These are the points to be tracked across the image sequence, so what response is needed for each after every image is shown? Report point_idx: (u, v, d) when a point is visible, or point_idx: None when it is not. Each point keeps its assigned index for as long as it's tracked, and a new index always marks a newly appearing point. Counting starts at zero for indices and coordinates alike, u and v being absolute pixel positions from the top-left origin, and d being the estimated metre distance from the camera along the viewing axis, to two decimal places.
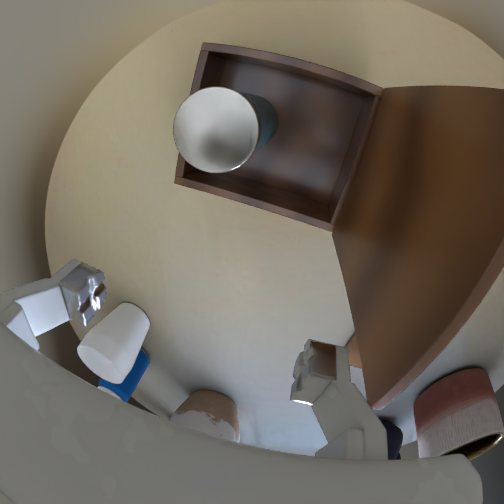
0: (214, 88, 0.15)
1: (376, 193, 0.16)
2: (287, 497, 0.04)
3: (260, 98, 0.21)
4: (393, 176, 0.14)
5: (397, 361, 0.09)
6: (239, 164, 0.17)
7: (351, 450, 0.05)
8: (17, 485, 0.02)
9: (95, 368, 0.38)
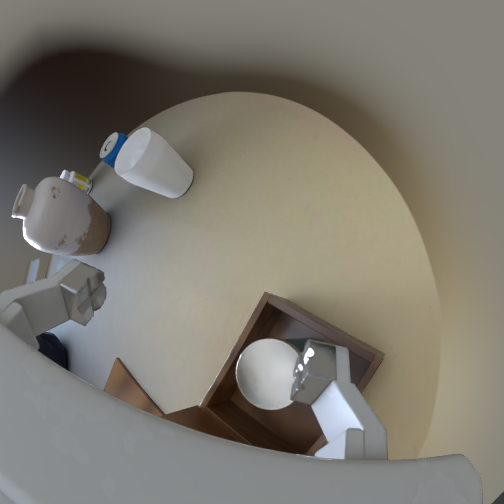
0: None
1: None
2: (287, 497, 0.04)
3: None
4: None
5: None
6: (238, 383, 0.21)
7: (351, 450, 0.05)
8: (17, 485, 0.02)
9: (132, 139, 0.41)
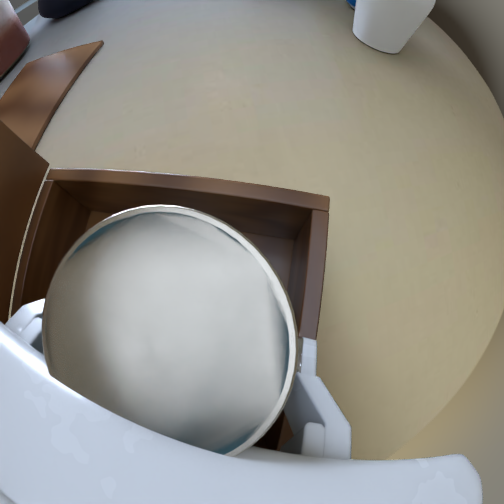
0: None
1: None
2: (287, 497, 0.04)
3: None
4: None
5: None
6: (79, 240, 0.05)
7: (309, 446, 0.06)
8: (17, 485, 0.02)
9: None
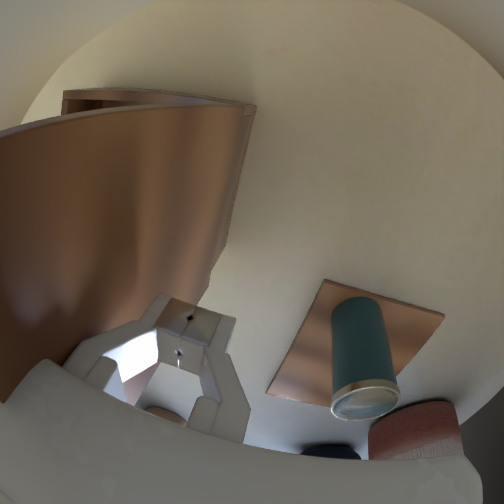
0: (378, 387, 0.17)
1: None
2: (287, 497, 0.04)
3: (380, 322, 0.24)
4: None
5: None
6: (375, 417, 0.19)
7: (197, 420, 0.06)
8: (17, 485, 0.02)
9: None
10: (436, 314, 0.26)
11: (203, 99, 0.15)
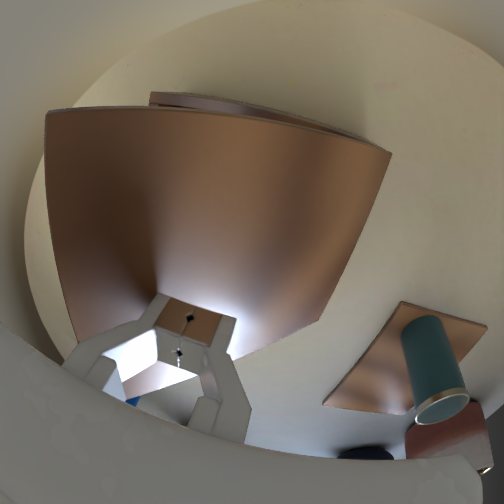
0: (458, 394, 0.17)
1: None
2: (287, 497, 0.04)
3: (447, 338, 0.23)
4: None
5: None
6: (445, 419, 0.19)
7: (198, 420, 0.06)
8: (17, 485, 0.02)
9: None
10: (481, 326, 0.25)
11: (348, 136, 0.15)
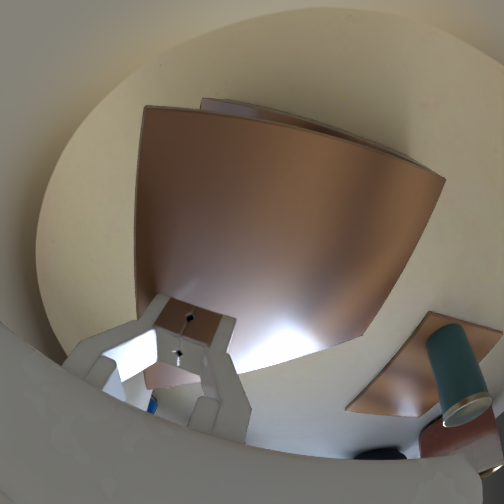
0: (483, 398, 0.16)
1: None
2: (287, 497, 0.04)
3: (470, 345, 0.23)
4: None
5: None
6: (468, 421, 0.18)
7: (198, 420, 0.06)
8: (17, 485, 0.02)
9: None
10: (498, 332, 0.25)
11: (407, 160, 0.14)
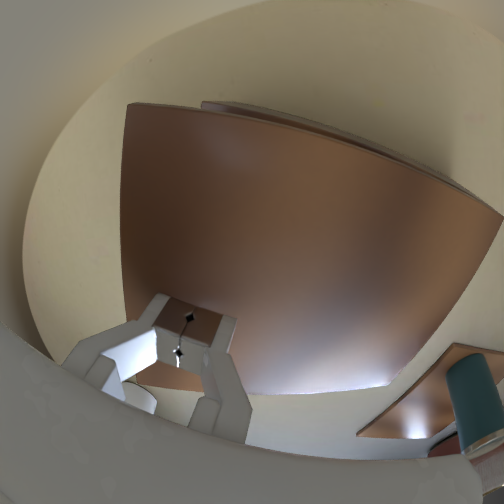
0: (503, 435, 0.12)
1: None
2: (287, 497, 0.04)
3: (492, 376, 0.18)
4: None
5: None
6: (485, 453, 0.14)
7: (199, 420, 0.06)
8: (17, 485, 0.02)
9: None
10: None
11: None
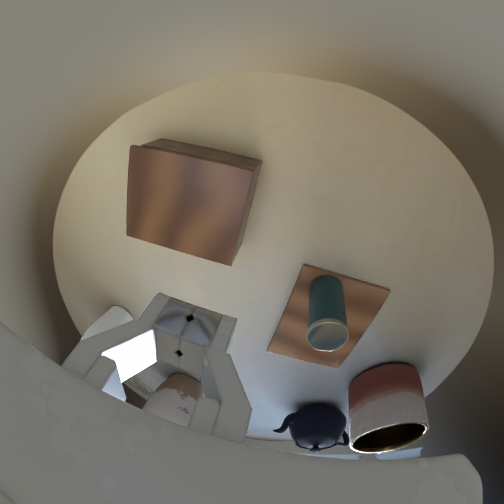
0: (331, 322, 0.34)
1: None
2: (287, 497, 0.04)
3: (339, 290, 0.40)
4: None
5: None
6: None
7: (198, 420, 0.06)
8: (17, 485, 0.02)
9: None
10: (383, 288, 0.43)
11: None
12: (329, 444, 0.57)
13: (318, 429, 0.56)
